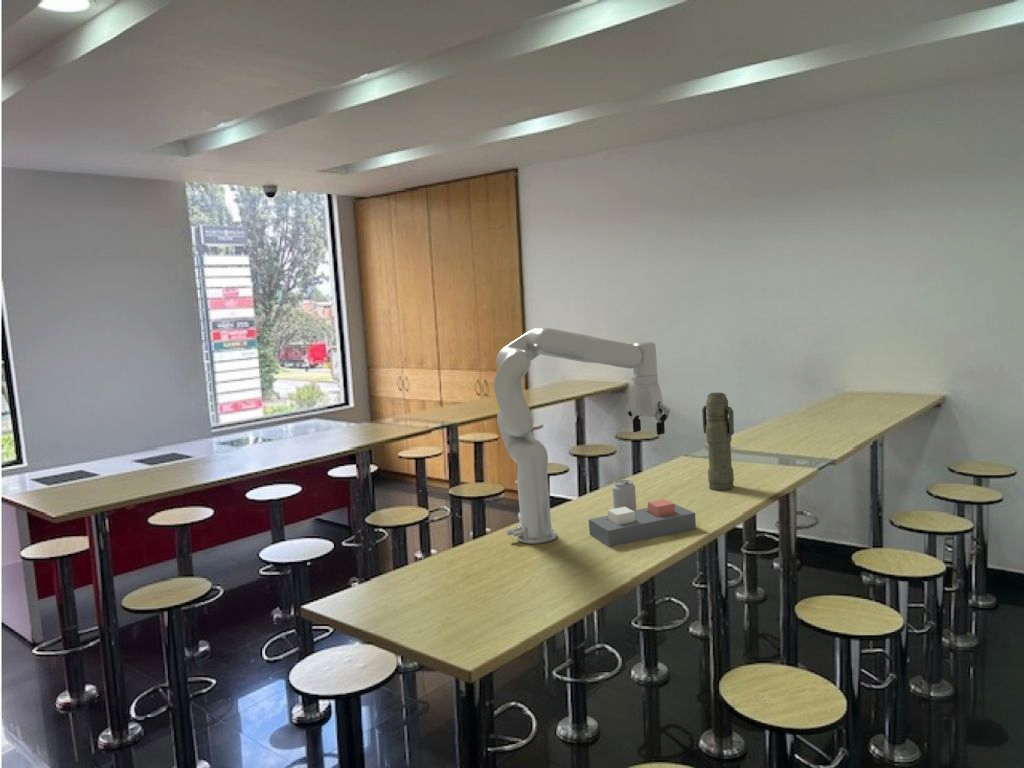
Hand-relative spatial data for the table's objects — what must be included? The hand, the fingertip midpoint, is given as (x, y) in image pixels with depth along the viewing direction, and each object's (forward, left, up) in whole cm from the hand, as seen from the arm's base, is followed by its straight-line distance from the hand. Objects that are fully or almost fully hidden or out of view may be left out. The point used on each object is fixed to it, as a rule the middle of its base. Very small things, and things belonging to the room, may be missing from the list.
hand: (648, 432), depth 233 cm
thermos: (+38, +16, -29) cm, 50 cm away
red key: (-3, -11, -24) cm, 27 cm away
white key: (-17, -11, -24) cm, 32 cm away
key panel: (-10, -11, -28) cm, 32 cm away
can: (-7, +6, -29) cm, 30 cm away
